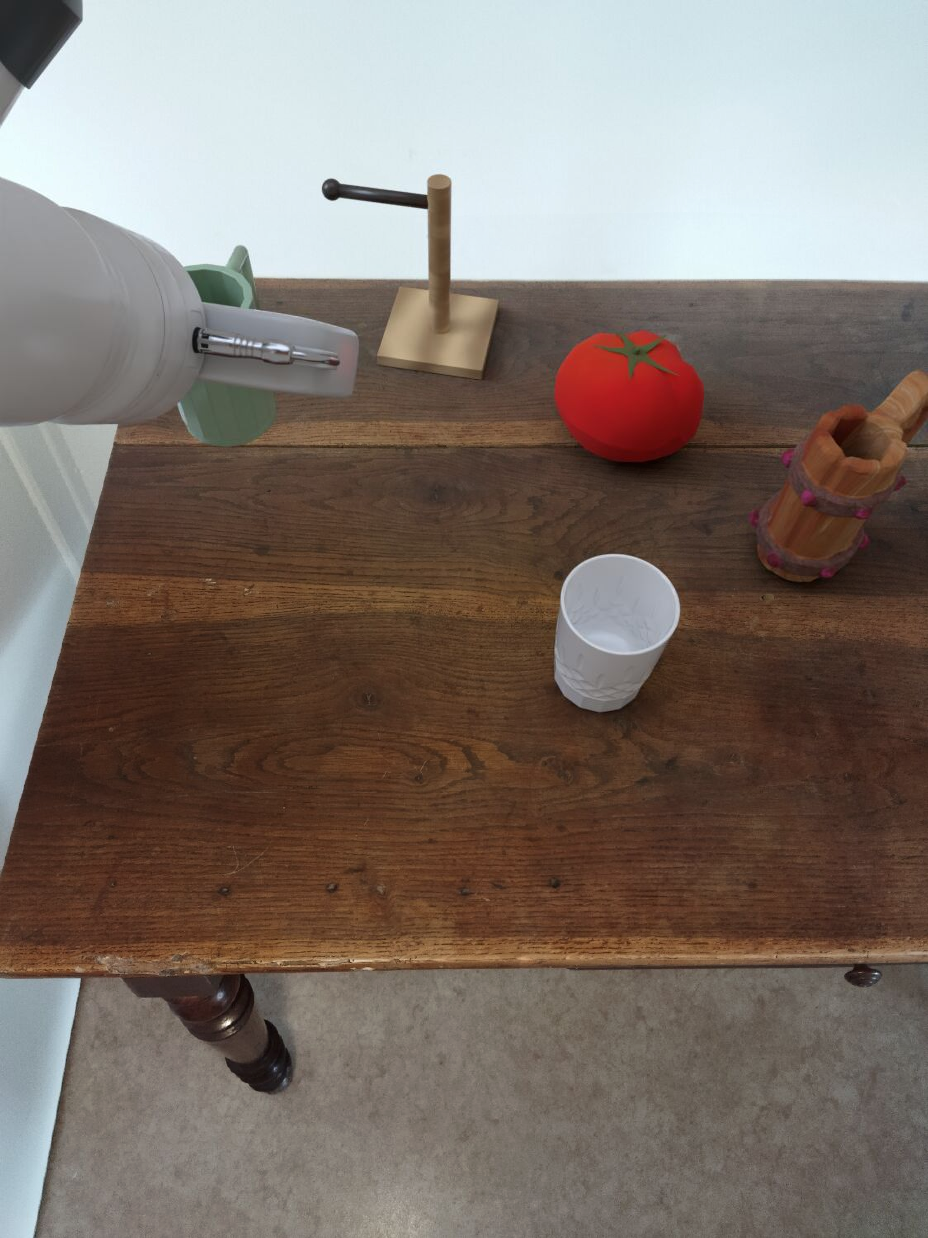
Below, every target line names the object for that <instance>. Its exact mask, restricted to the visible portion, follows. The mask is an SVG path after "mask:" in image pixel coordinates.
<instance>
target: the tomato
mask: <svg viewBox="0 0 928 1238" xmlns="http://www.w3.org/2000/svg"><path fill="white" fill-rule="evenodd" d="M612 329H613V331H614V332H615V333H616V334H614V333H605V332H604V333H603V332H597V333H595V334H593V335H591V336H590V337H588V338H587V339H585V340H583V341H581V342H579V343H578V344H576V345H575V346H574V347H573V348H572V349H571V351H570V352H569V353H568V354H567V355H566V357H565V359H564V360H563V362H562V363H561V365H560V367H559V369H558V371H557V372H556V377H555V385H554V402H555V405H556V409H557V412H558V414H559V417H560V418H561V421H563V423H564V425H565V426H566V429H567V430H568V432H569V435H570V436H571V437H572V438H573V439H574V440H575V441H577V442H578V444H579V445H580V446H581V447H583V448H584V449H585V451H587V452H589V453H591V454H593V455H594V456H596V457H598V458H601V459H606V460H609V461H614V462H619V463H621V462H623V463H645V462H649V461H654V460H656V459H657V460H658V459H661V458H664V457H668V456H670V455H672V454H674V453H676V452H678V451H680V450H681V449H682V448H683V447H684V446H685V445H687V443H689V441H691V440H692V439H693V438H694V437H695V436H696V433H697V431H698V429H699V427H700V426H701V425H700V424H701V420H702V418H703V417H702V416H703V410H704V401H705V387H704V386H705V385H704V382H703V380H702V379H701V377H700V376H699V374H698V373H697V372H696V370H695V368H694V367H693V365H691V364H689V363H688V362H686V361H685V360H684V359H683V357H682V355H681V353H680V351H679V348H678V346H677V345H676V344H675V343H672V341H669V340H668V339H666V336H667V334H665V335H659V334H656V333H653V332H650V331H648V330H644V329H642V330H638V331H635V332H631V333H627V334H624V333H621V332H620V331H618V330H616V329H615V328H614V327H612Z"/></svg>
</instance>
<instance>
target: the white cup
mask: <svg viewBox="0 0 928 1238" xmlns="http://www.w3.org/2000/svg"><path fill="white" fill-rule="evenodd" d="M680 615H681V604H680V599H679V595H678V593H677V590H676V589H675V586H674V585H673V583H672V582H671V581H670V579H669V578H668V576H666V574H665V573H663V571H661V570H660V569H659V568H658V567H656V566H654V565H653V564H652V563H650V562H648V561H646V560H644V559H642V558H640V557H636V556H632V555H627V554H621V553H608V554H601V555H596V556H593V557H590V558H588V559H586V560H583V561H582V562H580V563H579V564H578V565H577V566H575V567H574V568H573V569H572V570H571V572H569V573H568V575H567V576H566V578H565V580H564V582H563V585H562V587H561V591H560V597H559V605H558V612H557V621H556V628H555V638H554V639H555V640H554V651H553V652H554V659H553V671H554V672H553V674H554V676H553V677H554V681H555V682H556V684H557V686H558V688H559V690H560V691H561V693H562V695H563V696H564V697H565V698H566V699H567V700H569V701H570V702H572V703H573V704H574V705H576V706H577V707H578V708H579V709H580V708H581V709H584V710H588V711H592V712H596V713H604V712H605V713H606V712H610V711H617V710H620V709H622V708H623V707H625V706H626V705H628V704H629V703H630V702H632V701H633V700H634V699H635V698H636V697H637V695H638V693H639V692H640V690H641V688H642V686H643V685H644V683H645V682H646V681H647V680H648V679H649V678H650V675H651V673H652V672H653V670H654V668H655V667H656V665H657V664H658V662H659V660H660V658H661V656H662V655H663V652H664V651H665V649H666V648H667V645H668V643H669V641H670V640H671V638H672V636H673V634H674V632H675V630H676V629H677V626H678V625H679V621H680V617H681V616H680Z"/></svg>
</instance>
